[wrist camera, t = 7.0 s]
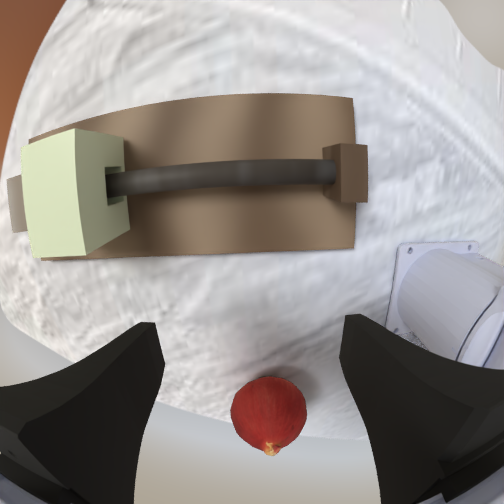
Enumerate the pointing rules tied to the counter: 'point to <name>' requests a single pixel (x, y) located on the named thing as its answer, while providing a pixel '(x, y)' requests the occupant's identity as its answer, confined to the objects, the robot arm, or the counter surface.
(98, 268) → the counter surface
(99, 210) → the sleeve
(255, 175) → the cord board
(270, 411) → the onion
